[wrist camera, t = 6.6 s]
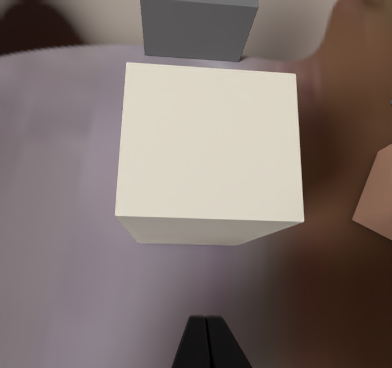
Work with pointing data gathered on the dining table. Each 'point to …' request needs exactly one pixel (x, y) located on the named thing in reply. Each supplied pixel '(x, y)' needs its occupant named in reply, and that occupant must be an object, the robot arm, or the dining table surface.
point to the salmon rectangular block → (377, 196)
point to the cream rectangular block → (208, 155)
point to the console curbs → (197, 28)
